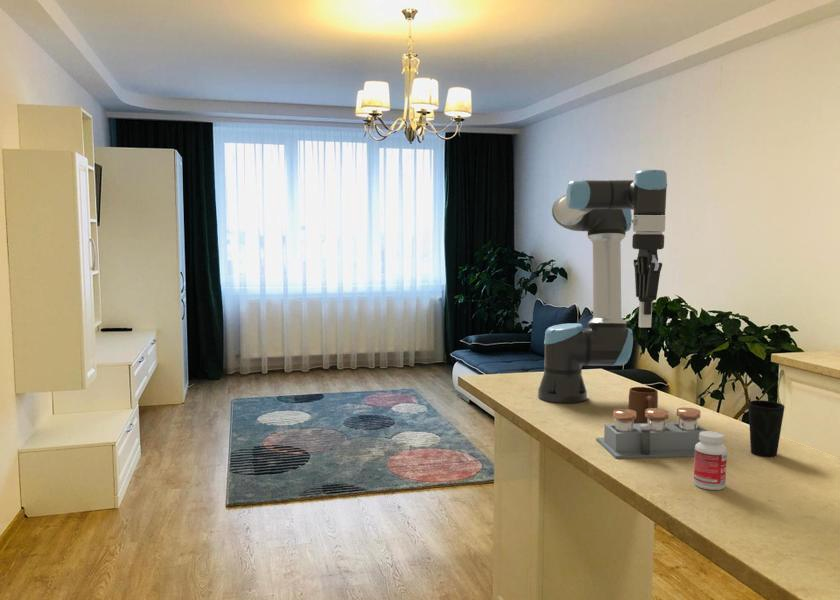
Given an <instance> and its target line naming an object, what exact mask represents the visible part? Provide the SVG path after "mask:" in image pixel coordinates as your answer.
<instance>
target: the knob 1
mask: <svg viewBox="0 0 840 600" xmlns="http://www.w3.org/2000/svg"><path fill="white" fill-rule="evenodd" d="M612 412H613V413H612V418H613V419H615V423H614V424H615V430H616V431H617V432H633V422H634V420H635V419H636V411H634V410H630V409H628V408H615V409H613V411H612Z"/></svg>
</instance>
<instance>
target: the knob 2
mask: <svg viewBox="0 0 840 600" xmlns="http://www.w3.org/2000/svg"><path fill="white" fill-rule="evenodd" d="M701 414H702V413H701V410H700V409H698V408H693V407H685V406H684V407H677V408H676V416H677V417H678V423H679V429H681V430H697V424H698V419H701Z"/></svg>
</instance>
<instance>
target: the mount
mask: <svg viewBox="0 0 840 600" xmlns="http://www.w3.org/2000/svg"><path fill="white" fill-rule="evenodd" d="M641 424H647V423H638V424H633V432H617V431H616V430H615V423H604V433H603V434H604V436H603V437H596V439H595V440H596V442H597V443H598V444H600V445H601V446H602V447H603V448H604V449H605V450H606V451H607V452H608V453H609V454H611V456H612V457H614V459H640V458H641V459H644V458H645V459H646V458H647V459H648V458H653V459H654V458H685V457H686V458H688V457H689V458H691V457H692V458H693V457H694V458H695V445H696V444H697V443H698V442H700V440H699V433H700V432H702V431H709V430H708V429H706V428H705V427H703V426H701V425H699V424H698V423H697V430H681V429H679V422H666V425H665V431H650V454H649V455H643V454H641V429H640V425H641Z"/></svg>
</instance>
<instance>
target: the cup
mask: <svg viewBox="0 0 840 600" xmlns="http://www.w3.org/2000/svg"><path fill="white" fill-rule="evenodd" d="M747 405H748V421H749V423H748V425H749V438H750V439H749V444H750V445H749V446H750V453H751V454H752V455H754V456H757V457H762V458H775V456H776V457H777V455H778V450H779V443H780V437H781V430H782V425H783V419H784V411H785V405H784V404H782V403H781V402H776V401H770V400H762V399H761V400H751V401H748V403H747Z"/></svg>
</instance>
